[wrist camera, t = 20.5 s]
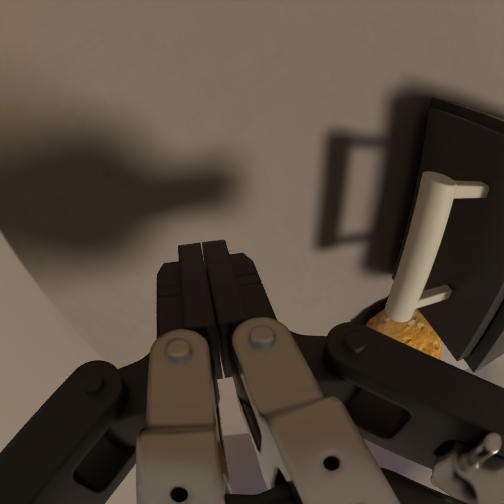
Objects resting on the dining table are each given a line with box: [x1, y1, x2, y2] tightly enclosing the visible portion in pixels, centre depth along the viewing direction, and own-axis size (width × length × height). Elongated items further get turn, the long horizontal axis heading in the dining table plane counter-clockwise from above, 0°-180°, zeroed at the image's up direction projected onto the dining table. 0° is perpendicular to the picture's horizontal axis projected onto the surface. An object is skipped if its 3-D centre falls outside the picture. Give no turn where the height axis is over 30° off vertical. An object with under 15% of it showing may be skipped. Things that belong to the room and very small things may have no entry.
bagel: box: [365, 308, 441, 359], centre depth 24 cm, size 10×11×5 cm
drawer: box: [385, 108, 504, 361], centre depth 14 cm, size 18×12×8 cm, turn 90°
